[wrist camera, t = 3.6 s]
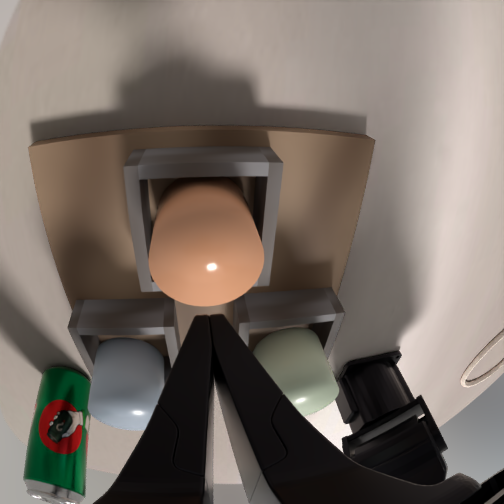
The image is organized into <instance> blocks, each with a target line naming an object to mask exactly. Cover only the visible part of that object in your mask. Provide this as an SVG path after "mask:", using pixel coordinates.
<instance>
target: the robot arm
mask: <svg viewBox="0 0 504 504" xmlns="http://www.w3.org/2000/svg"><path fill="white" fill-rule="evenodd" d="M401 356H402V354H401V353H400V351H397V352H392V353H388V354H384V355H379V356H375V357H370V358H365V359H360V360H355V361H351V362H348V363H347V364H346V365H345V367H344V369H343V371H342V373H341V375H340V377H339V379H338V381H337V385H338V387H339V394H338V396H337V397H336V399H335V401H336V403H337V406H338V409H339V411H340V414H341V417H342V419H343V422H344V423H345V424H349V425H350V428H351V430H352V433H353V434H351V435H349V436H345V437H343V438H342V448H343V452H344V453H343V452H341V451H340V450H339V449H338V448H337V447H336V446H335V445H333V444H332V443H331V442H330V441H329V440H328V439H327V438H326V437H325V436H323V435H322V434H321V433H320V432H319V431H318V430H317V429H316V428H315V427H314V426H313V425H312V424H311V423H310V422H309V421H308V420H307V419H306V418H305V417H304V416H303V415H302V414H301V413H300V412H299V411H298V410H297V409H296V407H295V406H294V405H293V404H292V403H291V401H290V400H289V399H288V398H287V396H286V395H285V394H283V392H282V390H281V389H280V388H279V387H278V385H277V384H276V383H275V381H274V380H273V379H272V378H271V376H270V375H269V374H268V373H267V371H266V370H265V369H264V367H263V366H262V365H261V363H260V362H259V361H258V360H257V358H256V357H255V356H254V354H253V353H252V352H251V350H250V349H249V348H248V346H247V345H246V344H245V342H244V341H243V340H242V338H241V337H240V336H239V334H238V333H237V332H236V330H235V329H234V327H233V326H232V325H231V323H230V322H229V321H228V319H227V318H226V317H225V315H224V314H222V313H219V314H210V316H209V315H208V314H201V315H195V316H194V318H193V320H192V323H191V325H190V327H189V330H188V332H187V334H186V336H185V339H184V341H183V343H182V346H181V348H180V350H179V352H178V355H177V357H176V359H175V362H174V364H173V366H172V369H171V371H170V373H169V376H168V378H167V380H166V383H165V385H164V388H163V390H162V392H161V395H160V397H159V399H158V402H157V403H158V404H157V405H156V406H155V409H154V411H153V413H152V416H151V418H150V420H149V422H148V424H147V427H146V429H145V431H144V433H143V434H142V436H141V438H140V440H139V442H138V444H137V445H136V447H135V449H134V450H133V452H132V454H131V455H130V457H129V459H128V460H127V462H126V464H125V465H124V467H123V469H122V470H121V472H120V474H119V476H118V477H117V479H116V480H115V482H114V483H113V485H112V486H111V487H110V488H109V490H108V491H107V492H106V493H105V494H104V495H103V496H101V497H100V498H99V499H98V500H97V501H95V502H94V503H93V504H213V437H214V380H215V386H216V390H217V394H218V398H219V402H220V406H221V409H222V413H223V417H224V421H225V424H226V428H227V432H228V435H229V439H230V442H231V446H232V449H233V453H234V456H235V459H236V463H237V466H238V469H239V473H240V476H241V479H242V482H243V486H244V489H245V492H246V495H247V498H248V501H249V503H250V504H504V468H503V469H502V470H500V471H499V472H497V473H496V474H494V475H493V476H492V477H490V478H488V479H487V480H485V481H484V482H482V483H481V484H479V483H478V482H477V481H476V480H474V479H472V478H471V477H468V476H466V475H464V474H461V473H457V474H455V475H453V476H452V477H450V478H448V479H446V475H447V469H448V467H447V464H446V461H445V459H444V457H443V455H442V452H443V451H445V450H447V449H448V447H447V445H446V443H445V441H444V439H443V437H442V435H441V433H440V431H439V429H438V427H437V425H436V423H435V421H434V419H433V417H432V415H431V413H430V411H429V409H428V407H427V405H426V403H425V401H424V399H423V398H422V396H421V395H420V396H418V397H416V399H414V397H413V395H412V393H411V391H410V389H409V387H408V385H407V383H406V382H405V380H404V378H403V376H402V374H401V372H400V370H399V368H398V367H397V365H396V364H397V363H398V361H399V359H400V358H401ZM423 413H424V414H425V416H424V417H422V418H420V419H418V417H419V416H420V415H422V414H423Z"/></svg>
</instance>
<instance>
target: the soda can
mask: <svg viewBox="0 0 504 504" xmlns="http://www.w3.org/2000/svg"><path fill="white" fill-rule="evenodd" d="M90 387H91V383H90V381H89V380H88V379H87V378H86V377H85V376H84V375H83V374H82V373H80V372H78V371H76V370H74V369H71V368H68V367H64V366H54V367H51V368H49V369H47V370H45V371H44V372H43V375H42V379H41V383H40V387H39V391H38V395H37V399H36V404H35V408H34V413H33V418H32V423H31V429H30V434H29V440H28V446H27V453H26V461H25V469H24V477H23V478H24V481H25V484H26V486H27V488H28V490H27V493H28V494H30V495H31V496H33V497H35V498H38V499H40V500H43V501H46V502H49V503H52V504H80V503H81V502H82V500H83V499H84V498H85V491H86V490H85V489H86V465H87V450H88V437H89V427H90V417H91V414H90V412H89V410H88V401H89V394H90Z"/></svg>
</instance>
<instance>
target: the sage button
mask: <svg viewBox="0 0 504 504" xmlns="http://www.w3.org/2000/svg"><path fill="white" fill-rule="evenodd" d="M253 354H254V356H255V357H256V358H257V360H258V361H259V362H260V363H261V365H262V366H263V367H264V369H265V370H266V371H267V373H268V374H269V375H270V376H271V378H272V379H273V380H274V381H275V383H276V384H277V385H278V387H279V388H280V389H281V390H282V392H283V394H285V395H286V396H287V398H288V399H289V400H290V401H291V403H292V404H293V405H294V406H295V407H296V409H297V410H298V411H299V412H300V413H301V414H302V415H303V416H307V415H310V414H313V413H315V412H317V411H319V410H321V409H323V408H325V407H326V406H328V405H329V404H330V403H332V402H333V401H334V400H335V399H336V397H337V396H338V394H339V387H338V385H337V382H336V380H335V377H334V375H333V372H332V370H331V367H330V365H329V362H328V360H327V357H326V355H325V353H324V350H323V348H322V345H321V343H320V340H319V338H318V336H317V334H316V333H315V332H314V331H312V330H310V329H307V328H302V327H291V328H285V329H282V330H278V331H276V332H273V333H271V334H269V335H268V336H266V337H265V338H263V339H262V340H261V341H260V342H259V343H258V344H257V345H256V347H255V349H254V351H253Z"/></svg>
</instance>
